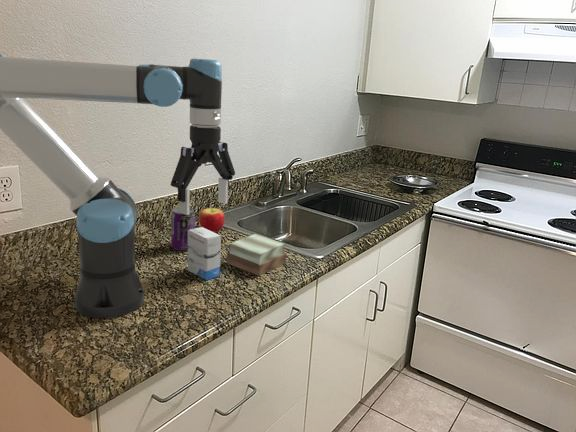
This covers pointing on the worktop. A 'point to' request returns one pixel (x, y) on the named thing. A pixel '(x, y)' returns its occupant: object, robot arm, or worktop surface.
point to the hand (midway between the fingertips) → (204, 208)
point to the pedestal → (256, 254)
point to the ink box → (204, 253)
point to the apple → (212, 219)
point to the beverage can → (181, 228)
